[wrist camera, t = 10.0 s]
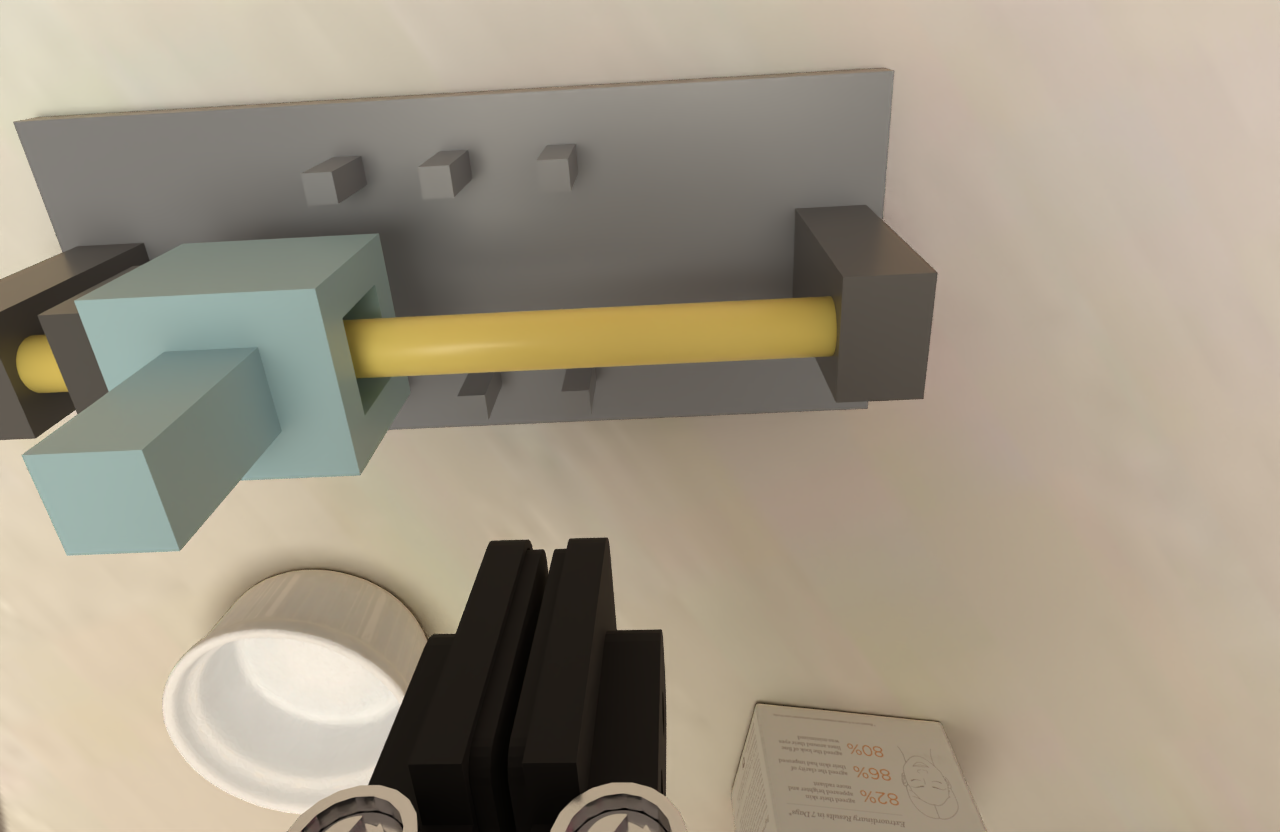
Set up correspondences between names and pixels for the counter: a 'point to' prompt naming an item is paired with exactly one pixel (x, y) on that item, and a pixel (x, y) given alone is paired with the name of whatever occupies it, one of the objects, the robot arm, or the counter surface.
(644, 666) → the robot arm
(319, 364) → the sleeve
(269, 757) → the ramekin
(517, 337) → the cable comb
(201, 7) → the counter surface
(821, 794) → the small box
